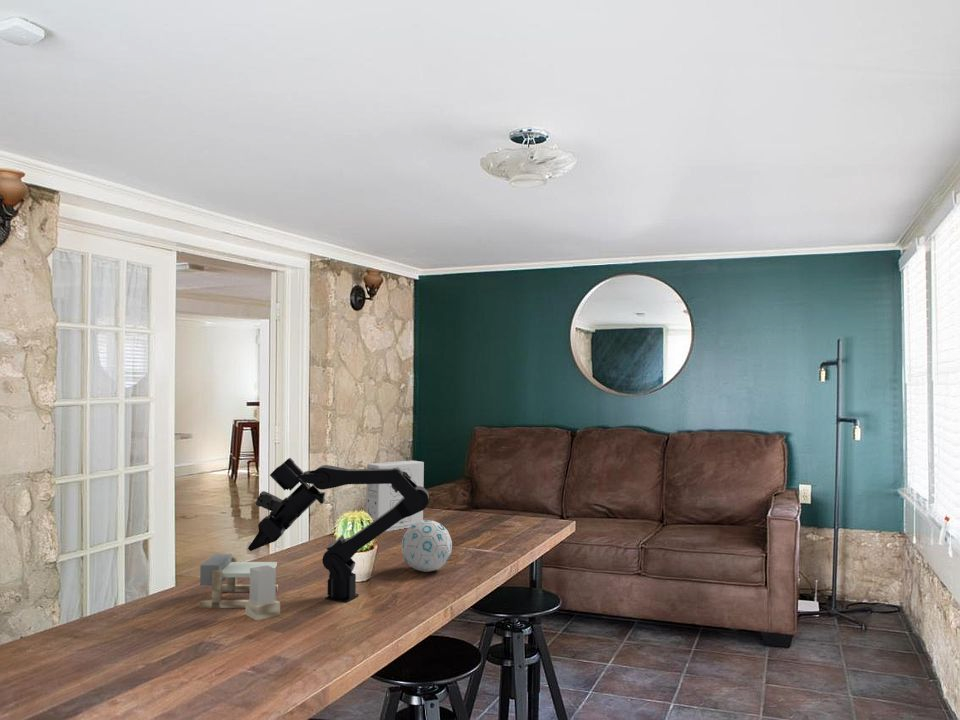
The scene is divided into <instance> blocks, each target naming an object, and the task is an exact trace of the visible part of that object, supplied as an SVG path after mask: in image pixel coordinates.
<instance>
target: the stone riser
mask: <svg viewBox="0 0 960 720" xmlns="http://www.w3.org/2000/svg"><path fill="white" fill-rule="evenodd" d="M244 611H245V613H244V614H245V616H247V617H249V618H251V619H252V620H255V621H261V620H262V621H263V620H266V619H270V618H275V617H280V616H281V602H280V601H278V600H277V599H275V602H274V603H269V604H264V605H259V606H257V605H255V604H253V603H251V602H249V601H246V607H245V609H244Z"/></svg>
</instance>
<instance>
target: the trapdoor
mask: <svg viewBox="0 0 960 720" xmlns="http://www.w3.org/2000/svg"><path fill="white" fill-rule="evenodd" d="M267 565H268V566H270V567H272V568H275V569H276V567H277V566H278V562H277V561H237V562H232V554H231V553H229V554H227V553H226V554H223V553H222V554H216V553H215V554H213V555H212V556H211V557H209V558H207V560H206V561H204V562H202V564H200V569H199V571H200V572H199V573H200V574H199V575H200V577H199V578H200V579H199V580H200V581H199V586H212V571H213V570H222V583H223V582H224V581H225V580H226V579H228V577H237V578H250V568H254V567H260V566H267Z"/></svg>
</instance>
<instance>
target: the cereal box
mask: <svg viewBox="0 0 960 720" xmlns="http://www.w3.org/2000/svg"><path fill="white" fill-rule="evenodd" d="M424 464H425V462H424V461H418V460H414V459H413V460H400V461H388V462H375V463H367V464H366V469H392V468H399V469H400V470H401V471H402V472H403V473H404V474H405V475H406V476H407V477H408V478H409V479H411V480H412V481H413V482H414V483H415V484H416V485H417V486H421V487H423V488H424V483H425V482H424V475H425V474H424V473H425V472H424V471H425V468H424V467H425V465H424ZM402 498H403V496H402V495H401V494H400V493H399V491H398V490H397V489H396V488H395V487H394V486H393V485H392V484H366V511H365V512H367V513H368V514H369V515H370V516H371V517H372V518H373V519H374V520H376V519H377V518H379V517H380V516H381V515H383V514H384V513H386V512H387V511H389V510H390V509H391V508H393V507H394V506H395V505H396V504H397V503H398V502H399V501H400V500H401V499H402ZM423 520H424V510H422V511H420V512H418V513H416V514H414V515H412V516H409V517H406V518H404V519H401V520H400V521H399V522H397V523H396V524H394V525H393V526H392V527H390V528H389V529H387V530H386V531H385V532H384V533H386V532H392V531H393V530H394V531H399V529H401V530H405V529H404V528H407V529H409V527H410V526H412V525H413V524H415V523H417V522H419V521H423Z"/></svg>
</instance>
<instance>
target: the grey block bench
mask: <svg viewBox="0 0 960 720" xmlns="http://www.w3.org/2000/svg"><path fill="white" fill-rule="evenodd" d="M232 562H238V556H232ZM278 591H279V584H277V583H276V591H275V593H276V592H278ZM225 592H226V593H227V592H228V593H239V592H240V593H245V592H246V593H247V592H248V593H250V583H249V584H248V583H247V584H245V583H244V584H243V583H242V584H238V577H227V584H223V582H222V570H213V571H212V585H211V599H201V600H199V601H198V602H199V603H198V604H199V605H198V606H199V607H198V608H199V609H218V608H219V609H221V608H222V609H233V608H234V609H239V608H240V609H244V608H245V607H246V601H249V599H223V598H222V596H223V595H222V594H223V593H225Z"/></svg>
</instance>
